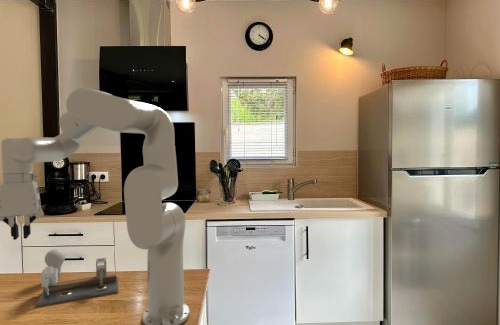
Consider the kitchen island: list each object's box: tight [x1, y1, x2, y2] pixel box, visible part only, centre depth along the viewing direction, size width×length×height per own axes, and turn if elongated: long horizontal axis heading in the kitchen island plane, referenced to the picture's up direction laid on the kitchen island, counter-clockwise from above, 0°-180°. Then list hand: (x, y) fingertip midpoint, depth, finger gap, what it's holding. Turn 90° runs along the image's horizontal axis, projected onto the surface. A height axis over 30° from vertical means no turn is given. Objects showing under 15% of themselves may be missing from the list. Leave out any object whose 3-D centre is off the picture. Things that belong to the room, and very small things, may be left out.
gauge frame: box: [43, 257, 117, 292], centre depth 102 cm, size 7×21×8 cm, turn 114°
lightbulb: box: [44, 248, 66, 280], centre depth 110 cm, size 6×6×11 cm
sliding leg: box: [40, 266, 59, 296], centre depth 98 cm, size 7×4×7 cm, turn 24°
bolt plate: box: [37, 276, 119, 307], centre depth 101 cm, size 10×22×1 cm, turn 114°
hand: (21, 237), depth 96 cm, fingers closed
